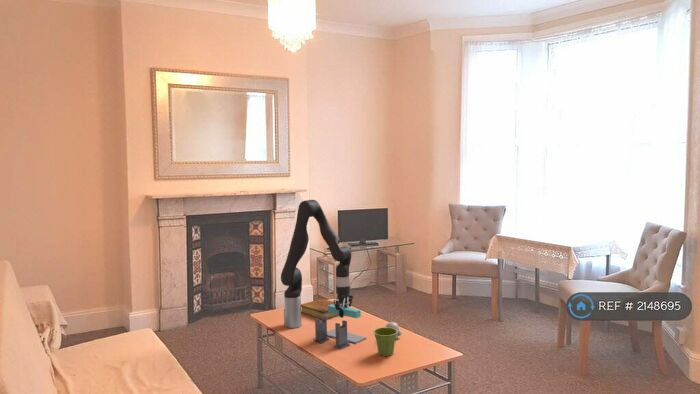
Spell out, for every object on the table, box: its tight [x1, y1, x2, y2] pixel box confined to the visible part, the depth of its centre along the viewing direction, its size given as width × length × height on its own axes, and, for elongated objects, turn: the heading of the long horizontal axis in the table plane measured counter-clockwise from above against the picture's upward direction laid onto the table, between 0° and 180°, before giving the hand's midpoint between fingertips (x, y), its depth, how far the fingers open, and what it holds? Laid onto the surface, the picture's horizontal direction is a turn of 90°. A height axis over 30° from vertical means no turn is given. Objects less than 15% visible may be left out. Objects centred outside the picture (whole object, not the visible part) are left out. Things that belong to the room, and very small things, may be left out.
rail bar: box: [328, 304, 362, 319], centre depth 291 cm, size 20×4×4 cm, turn 50°
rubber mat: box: [327, 328, 367, 345], centre depth 292 cm, size 23×9×1 cm, turn 50°
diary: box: [301, 298, 342, 321], centre depth 336 cm, size 23×19×6 cm
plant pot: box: [372, 326, 398, 357], centre depth 266 cm, size 12×12×11 cm
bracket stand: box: [313, 316, 351, 350], centre depth 282 cm, size 19×7×12 cm, turn 50°
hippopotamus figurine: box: [385, 321, 402, 341], centre depth 286 cm, size 7×12×8 cm, turn 129°
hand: (343, 316), depth 291 cm, fingers closed on rail bar, 3 cm apart
